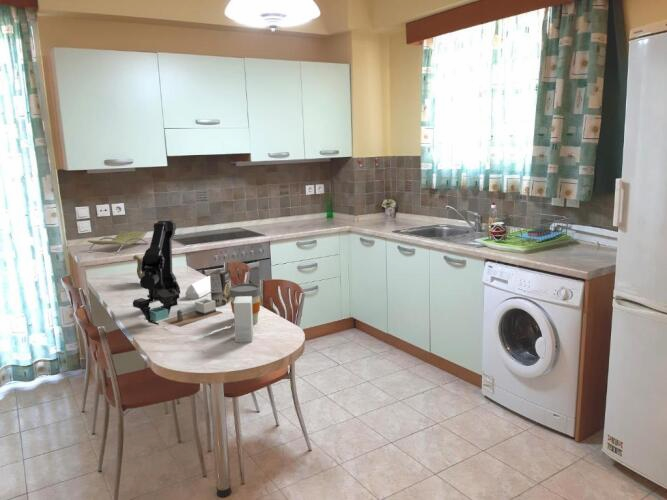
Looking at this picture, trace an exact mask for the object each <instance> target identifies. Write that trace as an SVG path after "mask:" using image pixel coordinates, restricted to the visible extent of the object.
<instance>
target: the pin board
mask: <svg viewBox="0 0 667 500" xmlns="http://www.w3.org/2000/svg"><path fill="white" fill-rule="evenodd" d="M205 303H206V302H204V303H203V304H205ZM221 314H223V311H219V310H216V312H215V313H212V314H209V315H206V316H204V315H200V314H197V313H196V310H193V311H191V312H186V313H183V311H182V309H179V310H177V311H176V316H175V317H171V318H166V319H163V320H162V322H165V323H167V324H170V325H173V326H175V327H185V326H187V325H191V324H194V323H196V322H200V321H202V320H206V319H208V318H210V317H215V316H217V315H221Z"/></svg>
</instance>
